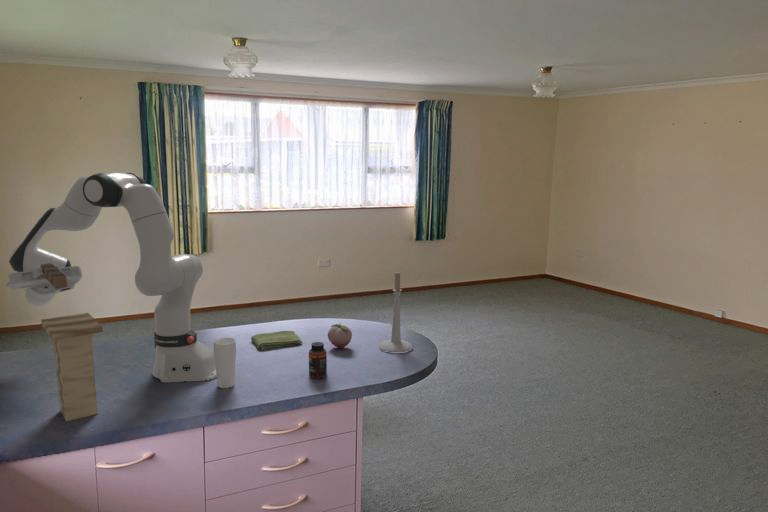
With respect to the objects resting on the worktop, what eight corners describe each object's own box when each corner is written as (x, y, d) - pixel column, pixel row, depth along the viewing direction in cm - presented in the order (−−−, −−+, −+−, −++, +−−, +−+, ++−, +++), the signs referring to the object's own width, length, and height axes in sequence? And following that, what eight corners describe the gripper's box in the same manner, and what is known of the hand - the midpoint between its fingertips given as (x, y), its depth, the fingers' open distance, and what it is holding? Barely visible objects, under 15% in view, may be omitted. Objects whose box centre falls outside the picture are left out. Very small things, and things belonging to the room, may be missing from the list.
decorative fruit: (356, 347, 223) (357, 322, 221) (343, 353, 216) (344, 327, 215) (336, 342, 228) (337, 317, 226) (323, 348, 221) (323, 323, 219)
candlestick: (389, 356, 215) (391, 276, 210) (373, 345, 226) (374, 269, 220) (418, 350, 222) (421, 273, 216) (401, 340, 233) (403, 266, 227)
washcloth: (304, 345, 225) (304, 337, 224) (258, 352, 217) (258, 344, 217) (293, 335, 237) (293, 327, 236) (249, 341, 229) (249, 333, 228)
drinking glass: (217, 381, 190) (215, 337, 187) (238, 381, 190) (237, 337, 187) (212, 390, 183) (211, 344, 180) (235, 390, 184) (233, 344, 181)
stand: (49, 407, 169) (41, 319, 164) (94, 397, 176) (88, 312, 171) (61, 429, 157) (52, 335, 152) (109, 417, 164) (102, 326, 159)
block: (41, 273, 183) (40, 264, 183) (52, 272, 185) (51, 263, 184) (55, 288, 166) (54, 278, 166) (67, 287, 168) (66, 276, 168)
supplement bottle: (329, 373, 198) (329, 342, 196) (322, 380, 192) (322, 347, 190) (313, 371, 200) (313, 339, 197) (305, 377, 194) (305, 345, 192)
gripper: (4, 278, 186) (7, 263, 175) (75, 270, 198) (82, 256, 188) (7, 297, 184) (10, 283, 174) (79, 287, 197) (86, 274, 186)
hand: (48, 269), depth 181 cm, fingers closed on block, 3 cm apart
